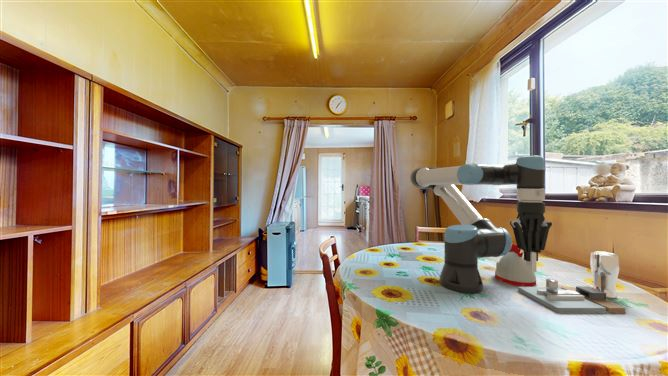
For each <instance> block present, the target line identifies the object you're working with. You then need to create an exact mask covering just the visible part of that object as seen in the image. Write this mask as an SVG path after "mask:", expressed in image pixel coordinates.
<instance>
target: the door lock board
mask: <svg viewBox="0 0 668 376" xmlns="http://www.w3.org/2000/svg"><path fill="white" fill-rule="evenodd" d="M517 291H518V292H520V294H522V295H525V296H526V297H528V298H529V299H532V300H534V301H535V302H537V303H539V304H541V305H543V306H544V307H546V308H549V309H550V310H552V311H553V312H555V313H565V314H566V313H567V314H568V313H571V314H574V313H577V314H578V313H579V314H580V313H581V314H585V313H586V314H606V313H609V314H626V307H624V306H621V305H619V304H616V303H614V302H612V301H609V300H607V298H606V293H605V292H602V291H600V290H597V289H594V288H593V287H592V286H589V285H588V286H587V285H585V286H584V285H583V286H581V285H578V286H577V285H576V286H575V287H574V286H561V287H559V286H558V291H575V292H578V293H580V295H546V294H544V291H546V286H532V287H524V286H517Z"/></svg>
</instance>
